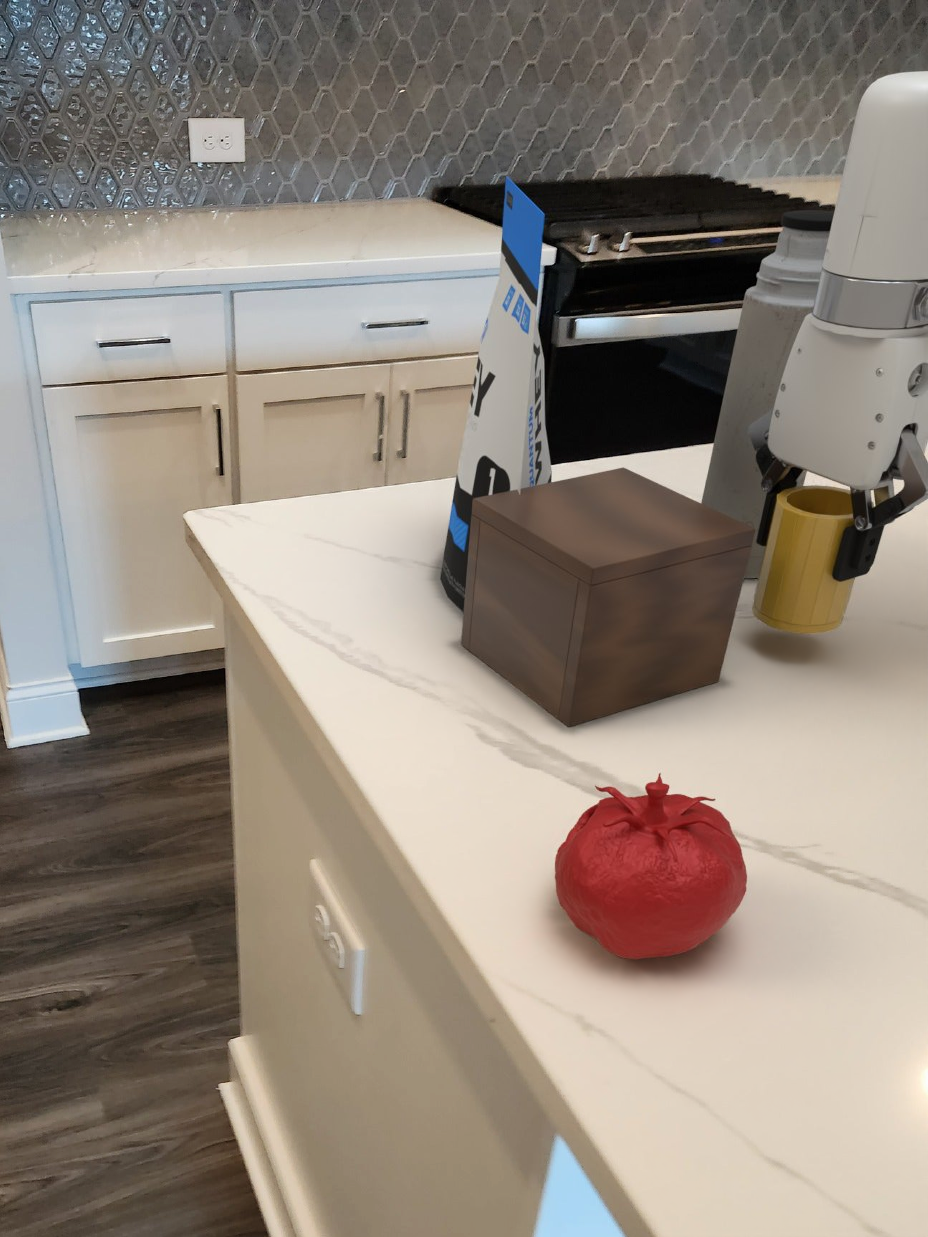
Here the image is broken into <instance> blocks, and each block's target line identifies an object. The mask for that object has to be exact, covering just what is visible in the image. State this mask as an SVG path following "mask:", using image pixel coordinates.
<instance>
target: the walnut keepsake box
mask: <svg viewBox="0 0 928 1237" xmlns="http://www.w3.org/2000/svg"><path fill="white" fill-rule="evenodd" d="M755 531H756V529H755V528H753V527H750V526H748V525H746V524H744V523H742V522H740V521H738V520H735V519H733V518H731V517H729V516H727V515H725V514H722V513H720V512H718V511H716V510H714V509H712V508H710V507H707V506H705V505H703V504H701V502H698V501H697V500H694V499H692V498H690V497H688V496H686V495H684V494H682V493H679V492H677V491H675V490H673V489H671V488H669V487H666V486H665V485H663V484H660V483H658V482H656V481H654V480H652V479H650V478H647V477H645V476H643V475H641V474H638V473H637V472H635V471H632V470H630V469H628V468H626V467H619V468H614V469H609V470H605V471H599V472H595V473H591V474H584V475H580V476H576V477H575V476H574V477H570V478H566V479H561V480H556V481H551V483H546V484H541V485H536V486H531V487H526V488H522V489H521V492H520V495H519V492H518V490H512V491H507V492H502V493H497V494H493V495H488V496H483V497H478V498H474V499H473V505H472V517H471V529H470V541H469V554H468V566H467V578H466V590H465V602H464V613H463V615H462V628H461V639H460V645H461V646H463V647H464V648H465V649H466V650H468V651H469V652H471V653H472V654H473V655H474V656H476V658H478V660H480V661H481V662H483V663H484V664H485V665H487V666H488V667H490V668H491V670H493V671H495V672H496V673H497V674H499V675H500V676H501V677H503V678H504V679H505V680H507V682H509V683H511V684H512V685H513V686H515V687H516V688H517V689H518V690H520V691H521V692H523V694H525V695H526V696H527V697H528V698H530V699H531V700H533V701H534V702H535V703H536V704H538V705H539V706H541V707H542V708H543V709H545V710H546V711H547V712H548V713H549V714H551V715H553V717H555V718H556V719H558V721H560V722H562V723H563V724H564V725H565V726H567V727H573V726H576V725H580V724H584V723H586V722H589V721H592V720H593V721H594V720H596V719H599V718H602V717H606V716H609V715H612V714H616V713H619V712H622V711H626V710H629V709H632V708H635V707H638V706H642V705H645V704H650V703H651V702H655V701H659V700H662V699H665V698H669V697H671V696H674V695H679V694H681V693H685V692H688V691H691V690H694V689H698V688H701V687H704V686H708V685H712V684H715V683H717V682H719V681H720V677H721V673H722V669H723V665H724V661H725V658H726V653H727V649H728V645H729V641H730V637H731V633H732V630H733V624H734V621H735V617H736V612H737V609H738V605H739V601H740V597H741V592H742V588H743V584H744V580H745V578H744V576H745V572H746V568H747V564H748V560H749V556H750V552H751V548H752V543H753V539H754V535H755Z"/></svg>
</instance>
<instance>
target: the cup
mask: <svg viewBox="0 0 928 1237" xmlns="http://www.w3.org/2000/svg"><path fill="white" fill-rule="evenodd" d="M873 507H875V502H874V501H872V508H873ZM853 525H854V520H853V511H852V502H851V492H850V489H847V488H841V487H838V486H830V485H815V484H814V485H813V484H812V485H803V486H798V487H793V488H789V489H785V490H783V491H781V492H780V493H779V494H777V496H776V501H775V505H774V510H773V514H772V518H771V523H770V527H769V532H768V536H767V541H766V545H765V549H764V554H763V558H762V563H761V567H760V571H759V576H758V578H757V581H756V585H755V590H754V594H753V601H752V604H751V612H752V614H753V616H754V618H756V620H758V621H759V622H761V623H762V624H764V625H766V626H768V627H771V628H773V629H776V630H778V631H779V630H780V631H783V632H787V633H788V632H789V633H795V634H807V635H808V634H809V635H810V634H811V635H812V634H822V633H827V632H831V631H833V630H836V629H837V628H839V627H840V626H841V624H842V623H843V621H844V617H845V615H846V612H847V609H848V605H849V602H850V598H851V594H852V592H853V587H854V585H855V580H856V577H855V578H852V579H849V580H845V581H842V582H839V581H837V580H835V579H833V576H832V572H833V568H834V565H835V561H836V557H837V554H838V550H839V546H840V542H841V539H842V535H843V532H844V529H845V528H846V527H849V526H853Z"/></svg>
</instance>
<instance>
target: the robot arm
mask: <svg viewBox="0 0 928 1237" xmlns="http://www.w3.org/2000/svg"><path fill="white" fill-rule="evenodd" d="M852 127H853V128H852V132H851V136H850V140H849V145H848V149H847V153H846V158H845V163H844V167H843V172H842V176H841V181H840V185H839V189H838V190H839V191H838V193H837V194H838V195H837V198H836V202H835V207H834V211H833V212H834V216H833V220H832V225H831V229H830V234H829V238H828V243H827V247H826V252H825V256H824V261H823V265H822V270H821V274H820V278H819V283H818V287H817V292H816V296H815V301H814V305H813V310H812V313H810V314H808V315H806V316H805V319H804V321H803V323H802V325H801V327H800V330H799V332H798V334H797V337H796V339H795V342H794V344H793V347H792V350H791V353H790V355H789V358H788V361H787V364H786V367H785V370H784V373H783V376H782V380H781V383H780V387H779V390H778V394H777V397H776V401H775V405H774V408H773V409H772V410H770V411H769V412H767V413H766V414H764V415H763V416H762V417H760V418H759V419H757V420H756V421H754V422H753V423H752V424H750V425H749V427H748V434H749V436H750V439H751V442H752V445H753V447H754V450H755V451H757V453H756V462H757V464H758V467H759V469H760V471H761V474H762V476H763V478H762V480H761V488H762V490H763V491H764V492H767V494H766V499H765V503H764V508H763V512H762V517H761V521H760V526H759V531H758V535H757V540H756V543H757V544H759V545H761V546H765V545H766V541H767V536H768V532H769V527H770V523H771V518H772V514H773V510H774V505H775V501H776V496H777V494H779V493H780V492H781V491H783V490H785V489H789V488H793V487H796V486H797V484H798V483H799V481H800V480H801V479H802V477H803V476H804V474H805V473H806V472H809V473H810V474H813V475H815V476H819V477H822V478H823V479H827V480H830V481H832V482H835V483H837V484H840V485H843V486H846V487H849V490H850V492H851V502H852V511H853V520H854V525H853V526H849V527H846V528H845V529H844V532H843V535H842V539H841V542H840V546H839V550H838V554H837V557H836V561H835V565H834V568H833V572H832V576H833V579H835V580H837V581H839V582H842V581H845V580H849V579H852V578H855V579H856V578H859V577H862V576H865V575H867V574H868V573H869V572H870V570H871V568H872V566H873V565H874V564H875V561H876V557H877V553H878V551H879V546H880V543H881V539H882V536H883V532H884V529H885V526H887V525H890V524H892V523H894V522H895V521H896V520H897V519H899V518H900V517H902V516H904V515H906V514H907V513H909V512H911V511H912V510H913V509H915V507H916V506H919V505H921V504H922V503H923V502H925V501H926V500H928V460H927V457H926V455H925V453H926V449H927V445H928V70H925V71H924V70H921V71H920V70H919V71H905V72H896V73H892V74H887V75H884V76H882V77H879V78H877V79H876V80H875V81H874V82H872V83H871V84H870V85H869V86H868V88H866V90H865V91H864V93H863V95H862V97H861V98H860V101H859V103H858V107H857V111H856V114H855V118H854V123H853V126H852ZM806 474H807V473H806ZM894 480H897V481H903V487H902V489H901V490H899V491H898V492H897V493H896V494H895V486H894V485H895V484H894ZM872 491H873V496H874V497H873V498H874V507H873V508H872V502H873V500H872Z"/></svg>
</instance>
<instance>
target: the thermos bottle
mask: <svg viewBox="0 0 928 1237" xmlns="http://www.w3.org/2000/svg"><path fill="white" fill-rule="evenodd" d="M833 216H834V211H829V210H819V209H818V210H817V209H816V210H815V209H814V210H813V209H811V210H810V209H808V210H806V209H805V210H791V211H787V212H784V213H782V216H781V220H780V225H781V226H782V229H781V231H780V232H779V234H778V238H777V243H776V247H775V251H774V252H773V253H770V254H769V255H768V256H765V257H764V258H763V259H762V260H761V263H760V265H759V266H760V267H759V271H758V272H757V273H756V279H757V281H756V285H754V286H751V287H749V288H748V289H746V291H745V293H744V297H743V302H742V307H741V311H740V317H739V322H738V326H737V331H736V336H735V341H734V344H733V350H732V355H731V360H730V364H729V369H728V374H727V379H726V383H725V388H724V393H723V398H722V403H721V407H720V410H719V411H720V412H719V416H718V421H717V426H716V431H715V436H714V441H713V445H712V450H711V455H710V460H709V464H708V470H707V474H706V479H705V484H704V488H703V492H702V498H701V501H700V503H701V504H703V505H705V506H707V507H710V508H712V509H714V510H716V511H718V512H720V513H722V514H725V515H727V516H729V517H731V518H733V519H735V520H738V521H740V522H742V523H744V524H746V525H748V526H750V527H753V528H755V529H756V531H755V535H754V539H753V543H752V548H751V552H750V556H749V560H748V564H747V568H746V572H745V576H744V579H758V576H759V571H760V567H761V563H762V558H763V554H764V549H765V546H761V545H759V544H757V543H756V540H757V535H758V531H759V526H760V521H761V517H762V512H763V508H764V503H765V499H766V494H767V492H764V491H763V490H762V488H761V480H762V478H763V476H762V474H761V471H760V469H759V467H758V464H757V462H756V453H757V451H755V450H754V447H753V445H752V442H751V439H750V436H749V434H748V427H749V425H750V424H752V423H753V422H754V421H756V420H757V419H759V418H760V417H762V416H763V415H764V414H766V413H767V412H769V411H770V410H772V409H773V408H774V405H775V401H776V397H777V394H778V390H779V387H780V383H781V380H782V376H783V373H784V370H785V367H786V364H787V361H788V358H789V355H790V353H791V350H792V347H793V344H794V342H795V339H796V337H797V334H798V332H799V330H800V327H801V325H802V323H803V321H804V319H805V316H806V315H808V314H810V313H812V310H813V305H814V301H815V296H816V292H817V287H818V283H819V278H820V274H821V270H822V265H823V261H824V256H825V252H826V247H827V243H828V238H829V234H830V229H831V225H832V220H833ZM807 472H808V471H807ZM807 472H806V473H805V474H804V476H803V477H802V479H801V480H800V481H799V483H798V484H797V486H796V487H798V486H805V480H806V477H807V474H808V473H807Z"/></svg>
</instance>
